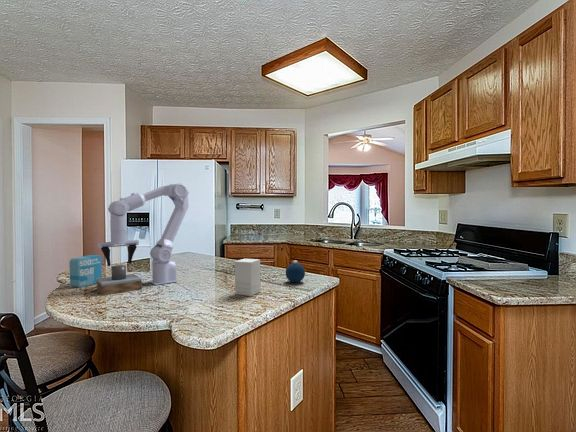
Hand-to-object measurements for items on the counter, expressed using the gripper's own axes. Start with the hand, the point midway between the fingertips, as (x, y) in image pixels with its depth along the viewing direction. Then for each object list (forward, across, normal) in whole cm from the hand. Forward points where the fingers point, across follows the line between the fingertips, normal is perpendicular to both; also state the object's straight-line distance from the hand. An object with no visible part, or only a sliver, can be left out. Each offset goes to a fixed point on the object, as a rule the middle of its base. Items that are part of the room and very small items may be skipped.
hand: (119, 264), depth 136 cm
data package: (+10, -9, +18) cm, 22 cm away
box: (+10, 0, -1) cm, 10 cm away
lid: (+6, 0, -1) cm, 6 cm away
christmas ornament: (+10, +61, -37) cm, 72 cm away
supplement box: (+10, +36, -39) cm, 54 cm away
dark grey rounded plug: (+6, 0, -1) cm, 6 cm away
